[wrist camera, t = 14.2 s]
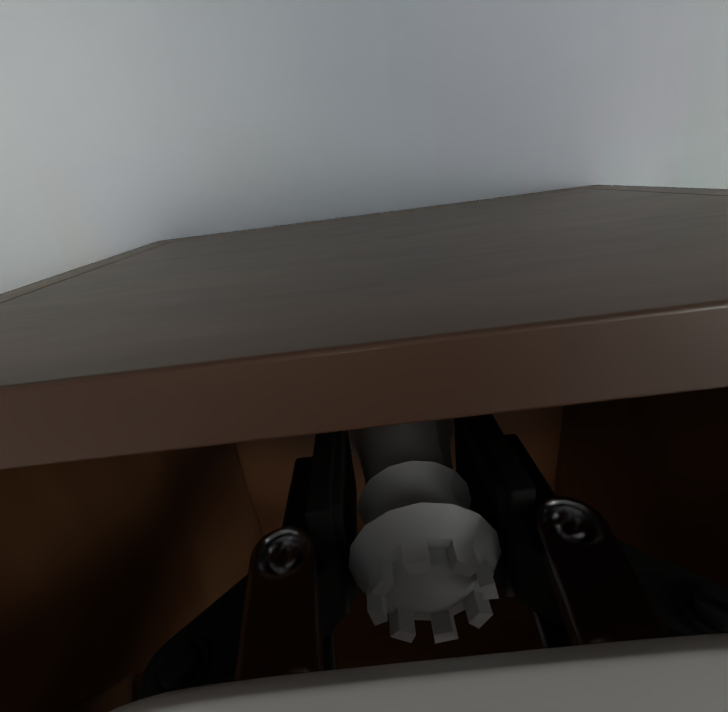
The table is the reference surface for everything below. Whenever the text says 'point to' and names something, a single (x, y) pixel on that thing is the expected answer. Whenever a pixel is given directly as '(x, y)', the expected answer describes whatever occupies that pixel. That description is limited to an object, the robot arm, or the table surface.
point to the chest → (346, 405)
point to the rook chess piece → (420, 533)
